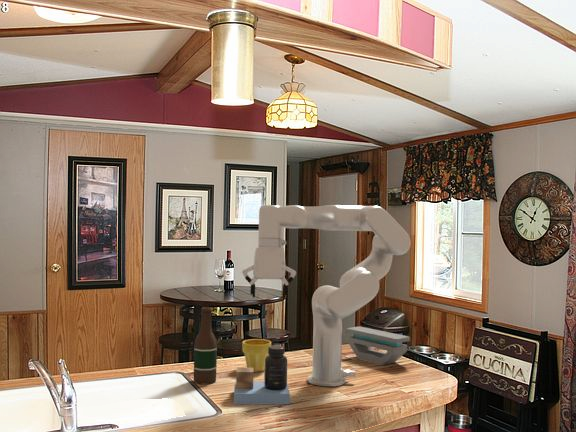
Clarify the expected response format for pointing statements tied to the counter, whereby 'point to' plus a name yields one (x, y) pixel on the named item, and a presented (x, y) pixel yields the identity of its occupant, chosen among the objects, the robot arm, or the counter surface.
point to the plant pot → (256, 353)
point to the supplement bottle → (275, 369)
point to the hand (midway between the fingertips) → (268, 297)
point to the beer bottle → (205, 351)
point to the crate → (244, 378)
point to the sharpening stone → (376, 345)
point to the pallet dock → (261, 395)
